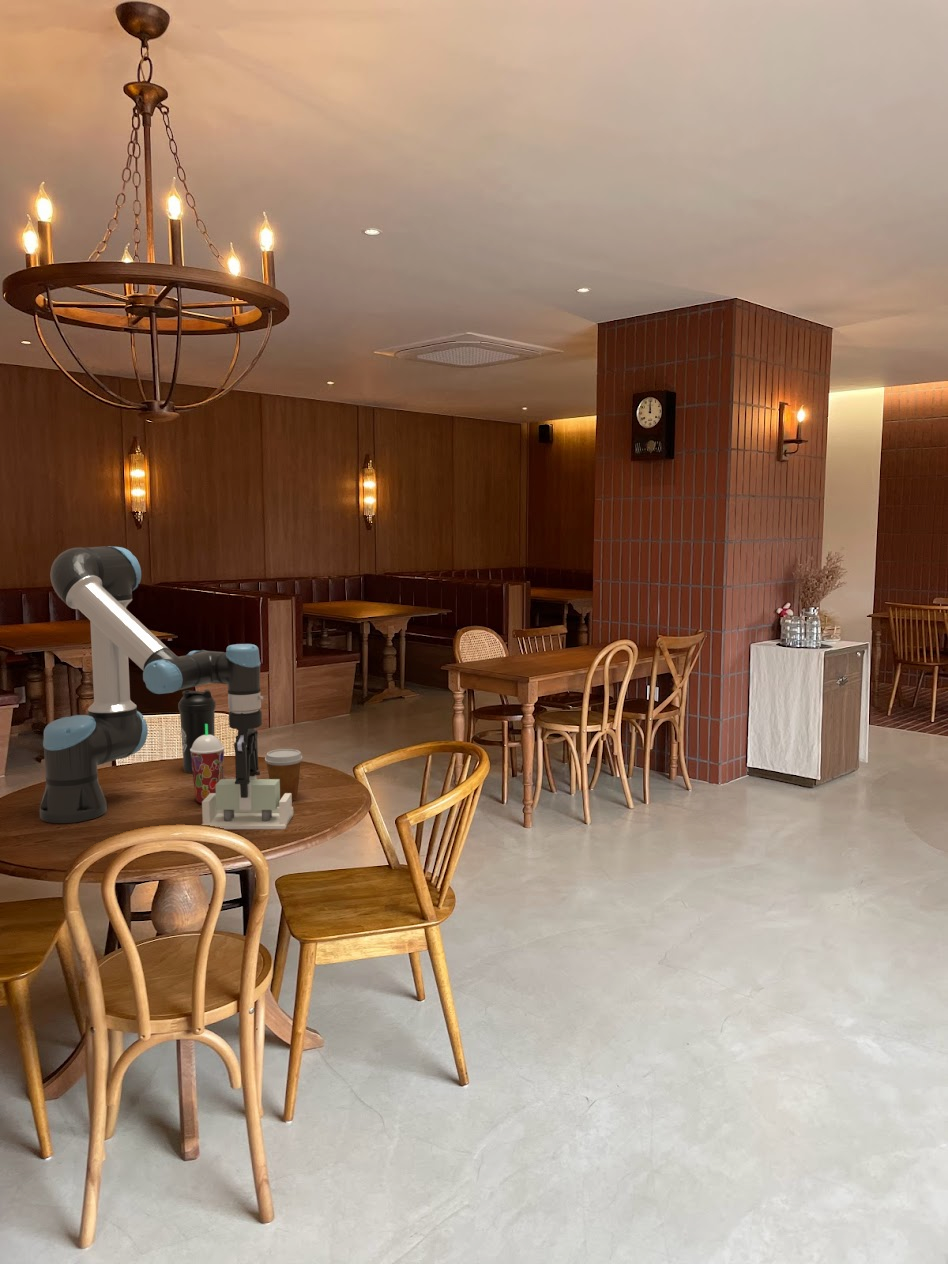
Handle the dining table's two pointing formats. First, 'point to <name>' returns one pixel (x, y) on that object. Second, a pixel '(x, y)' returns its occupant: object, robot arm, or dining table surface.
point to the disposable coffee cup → (285, 769)
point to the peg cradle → (247, 815)
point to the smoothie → (206, 764)
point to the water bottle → (195, 720)
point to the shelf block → (262, 794)
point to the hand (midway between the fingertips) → (248, 806)
